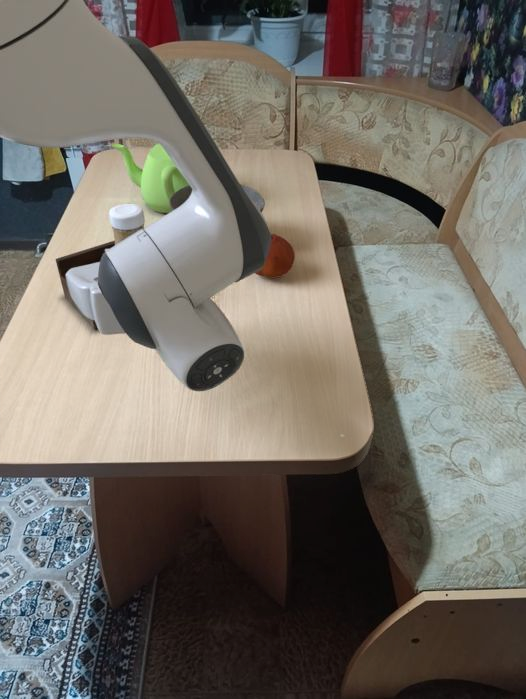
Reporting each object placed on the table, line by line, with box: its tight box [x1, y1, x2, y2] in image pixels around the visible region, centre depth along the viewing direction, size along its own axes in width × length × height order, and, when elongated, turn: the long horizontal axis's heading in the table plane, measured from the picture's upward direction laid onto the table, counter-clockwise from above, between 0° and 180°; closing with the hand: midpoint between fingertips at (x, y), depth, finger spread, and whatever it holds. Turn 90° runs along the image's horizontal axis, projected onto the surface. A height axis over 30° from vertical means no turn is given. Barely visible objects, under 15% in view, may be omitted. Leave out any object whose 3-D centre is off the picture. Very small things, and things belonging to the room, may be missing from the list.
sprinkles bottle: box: [108, 203, 146, 245], centre depth 77 cm, size 5×5×13 cm
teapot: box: [109, 142, 189, 214], centre depth 124 cm, size 19×20×14 cm
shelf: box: [54, 239, 115, 331], centre depth 95 cm, size 16×12×8 cm
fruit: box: [254, 233, 296, 279], centre depth 102 cm, size 9×9×8 cm
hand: (129, 248), depth 77 cm, fingers closed on sprinkles bottle, 4 cm apart
